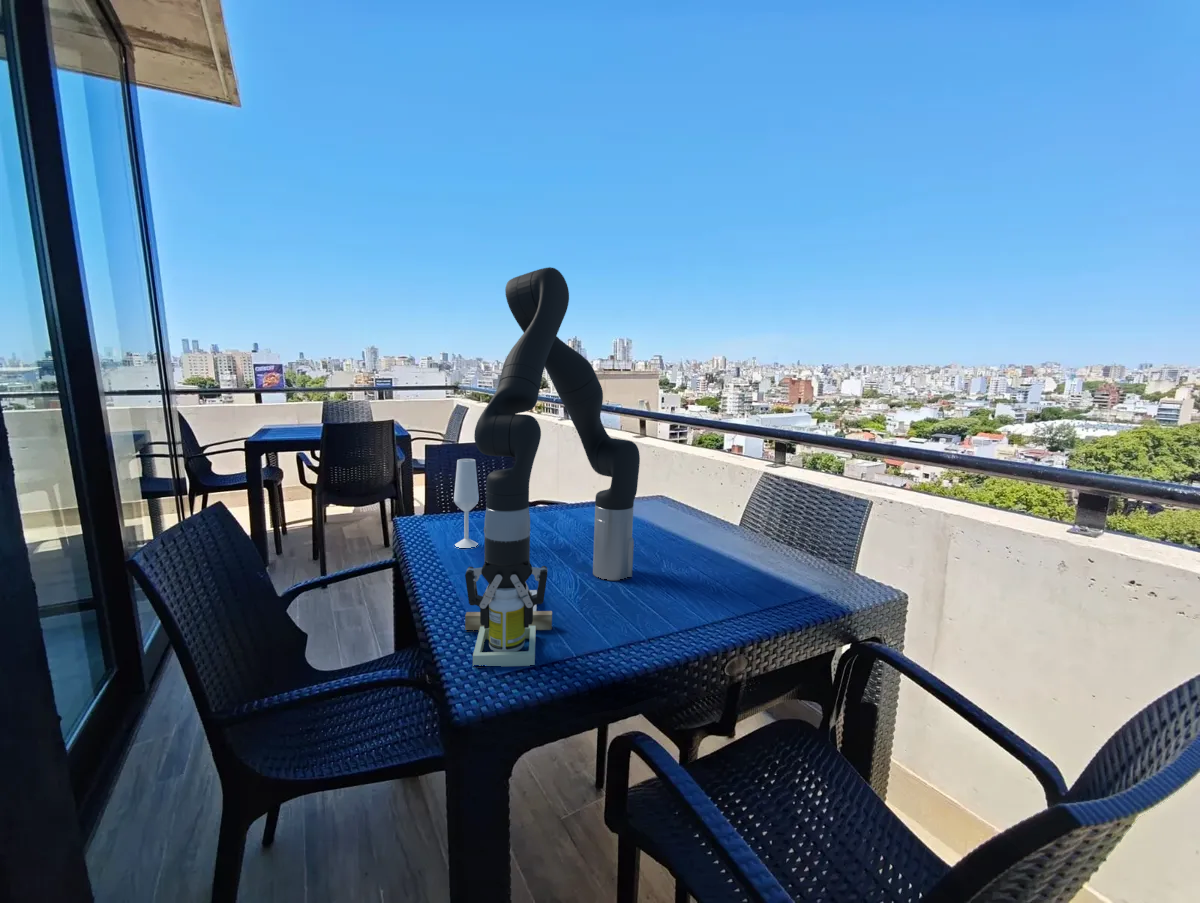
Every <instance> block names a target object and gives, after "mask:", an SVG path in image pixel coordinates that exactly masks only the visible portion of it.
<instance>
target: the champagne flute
mask: <svg viewBox="0 0 1200 903" xmlns="http://www.w3.org/2000/svg"><path fill="white" fill-rule="evenodd" d="M476 463H477V462H476V459H474V458H460V459H457V461H456V469H455V481H454V494H453V502H454V504H455V506H457V507H458V508H459V510H461V511H463V516H464V517H463V520H464V521H463V522H464V524H463V525H464V528H463V529H464V530H463V534H464V537H463V538H462V539H461V540H459V541H458V542H456V543H455V544H454V545H455V546H456V547H459V548H471V547H475V548H477V547H478V546H479V545H478V544H479V543H478V542H476V541H475V540H472V539H471V538H470V537H469V536H470V532H469V529H470V528H469V525H470V523H469V521H470V520H469V518H470V517H469V514H470V513H469V512H470V511H472V510H473V509H474V508H475V507H476V506H477V504H478V503H479V500H480V498H479V496H480V495H479V487H478V476H477V475H478V474H477V464H476ZM477 545H478V546H477ZM476 546H477V547H476ZM456 547H455V548H456ZM459 548H458V549H459ZM471 549H472V548H471Z"/></svg>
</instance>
